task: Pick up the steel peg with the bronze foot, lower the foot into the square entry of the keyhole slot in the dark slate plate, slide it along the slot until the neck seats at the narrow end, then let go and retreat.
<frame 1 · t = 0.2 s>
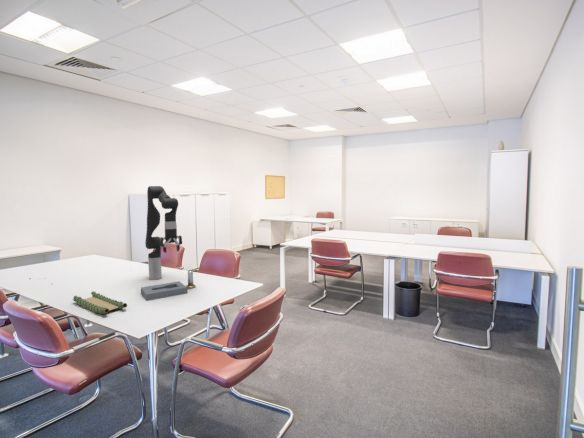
hand: (171, 251, 221), 29 cm above the table, fingers open, 8 cm apart
keyhole plate: (164, 293, 223), on the table
stretcher: (99, 307, 198), on the table
steel peg: (190, 287, 235), on the table
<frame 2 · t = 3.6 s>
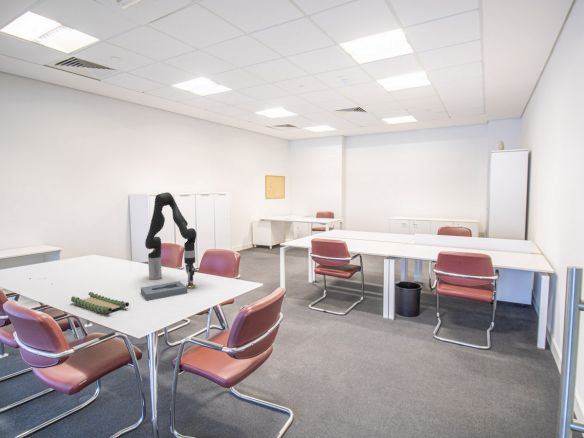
hand: (190, 279, 235), 6 cm above the table, fingers closed on steel peg, 3 cm apart
steel peg: (190, 287, 235), on the table, touching gripper
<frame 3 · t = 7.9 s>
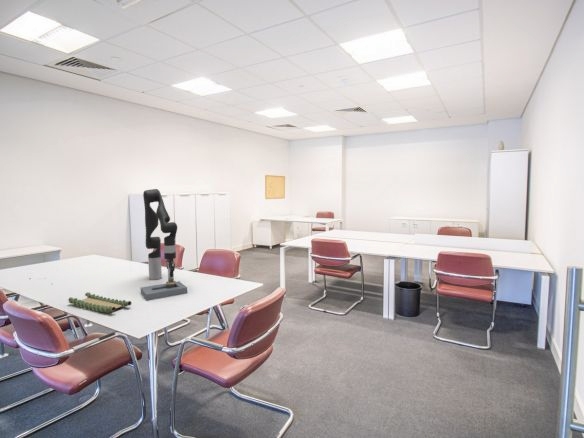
hand: (170, 276, 225), 11 cm above the table, fingers closed on steel peg, 3 cm apart
steel peg: (171, 284, 225), point 5 cm above the table, touching gripper
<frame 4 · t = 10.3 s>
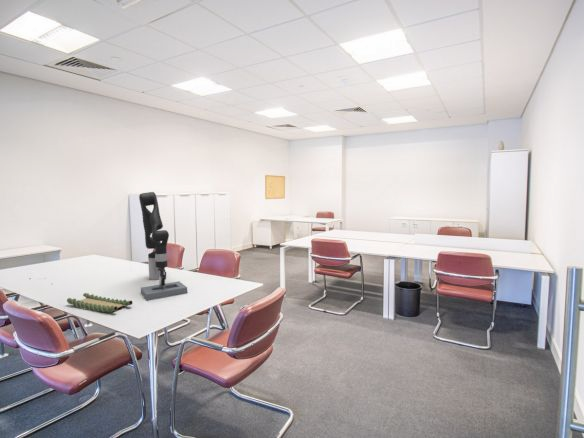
hand: (162, 284, 222), 6 cm above the table, fingers closed on steel peg, 3 cm apart
steel peg: (162, 292, 222), resting in keyhole plate, touching gripper
when the fingers open (6 cm above the table, at t = 12.2 s): steel peg stays where it is, resting in keyhole plate.
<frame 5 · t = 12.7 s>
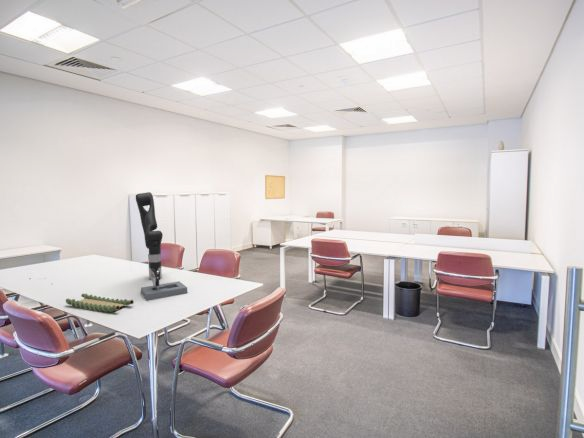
hand: (155, 284, 219), 7 cm above the table, fingers open, 8 cm apart
steel peg: (156, 294, 220), resting in keyhole plate
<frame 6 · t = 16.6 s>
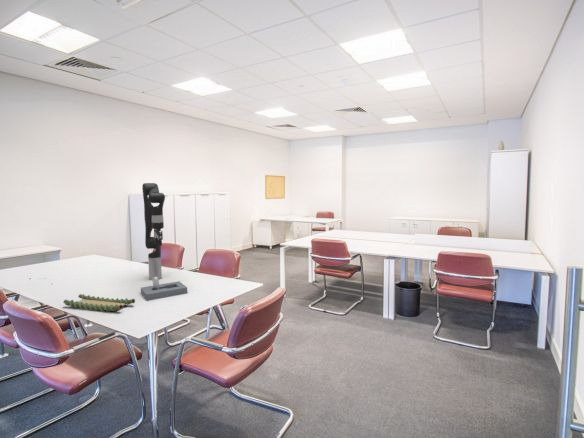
hand: (158, 244, 228), 32 cm above the table, fingers open, 8 cm apart
at the end: steel peg 0.1 cm from the target spot on the keyhole plate, point 0.0 cm above the keyhole plate's base; steel peg tilted 0°; the gripper is holding nothing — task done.
